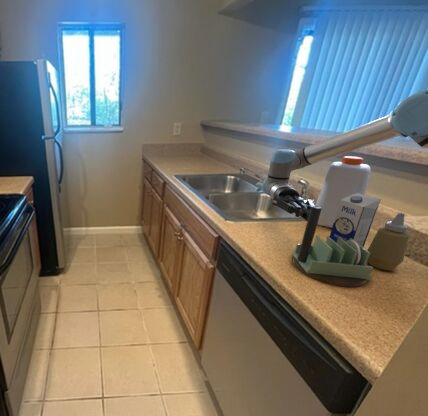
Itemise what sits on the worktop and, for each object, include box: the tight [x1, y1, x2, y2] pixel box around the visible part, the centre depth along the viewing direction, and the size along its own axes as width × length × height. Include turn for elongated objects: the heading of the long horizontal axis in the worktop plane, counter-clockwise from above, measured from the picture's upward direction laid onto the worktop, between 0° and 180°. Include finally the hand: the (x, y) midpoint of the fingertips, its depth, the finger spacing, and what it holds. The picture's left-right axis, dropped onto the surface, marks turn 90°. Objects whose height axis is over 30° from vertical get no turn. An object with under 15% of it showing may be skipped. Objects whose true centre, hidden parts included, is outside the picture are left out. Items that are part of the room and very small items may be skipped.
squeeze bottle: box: [366, 211, 410, 271], centre depth 83 cm, size 8×8×18 cm
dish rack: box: [292, 206, 374, 280], centre depth 81 cm, size 17×11×19 cm, turn 76°
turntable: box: [292, 256, 368, 288], centre depth 85 cm, size 18×18×1 cm
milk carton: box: [328, 193, 382, 248], centre depth 92 cm, size 7×7×20 cm
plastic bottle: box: [314, 155, 372, 229], centre depth 111 cm, size 15×15×28 cm
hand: (313, 219), depth 83 cm, fingers closed
